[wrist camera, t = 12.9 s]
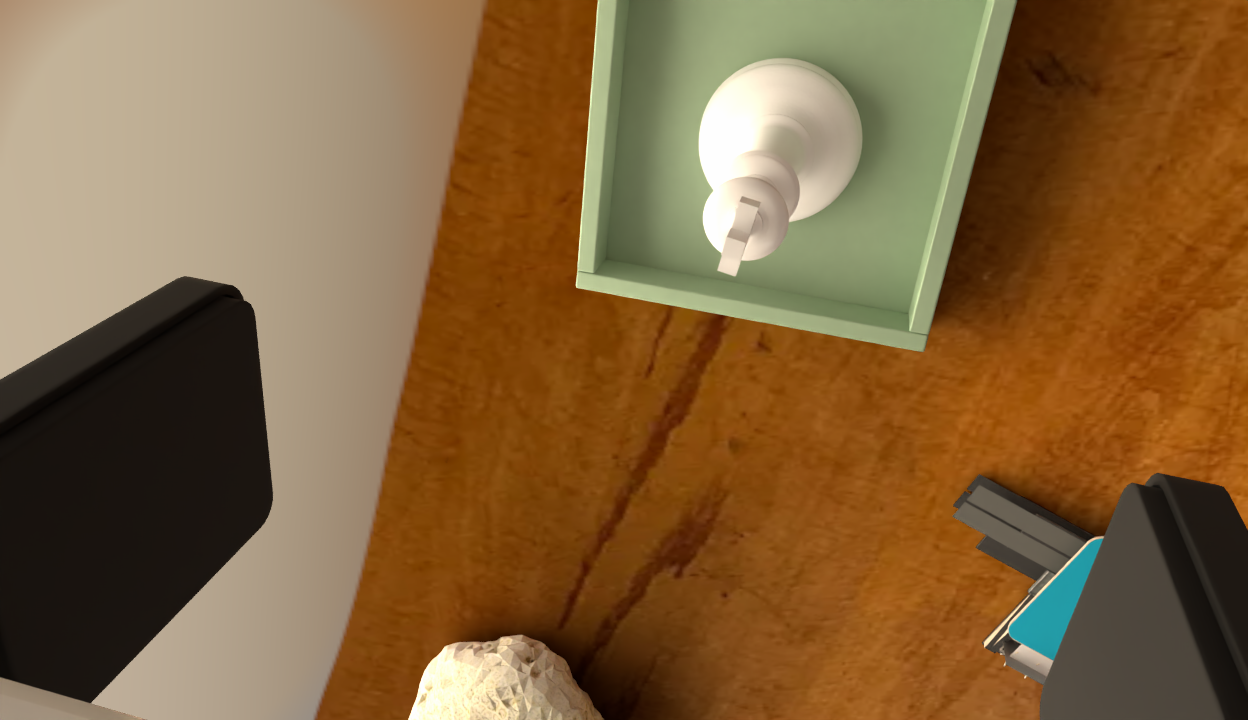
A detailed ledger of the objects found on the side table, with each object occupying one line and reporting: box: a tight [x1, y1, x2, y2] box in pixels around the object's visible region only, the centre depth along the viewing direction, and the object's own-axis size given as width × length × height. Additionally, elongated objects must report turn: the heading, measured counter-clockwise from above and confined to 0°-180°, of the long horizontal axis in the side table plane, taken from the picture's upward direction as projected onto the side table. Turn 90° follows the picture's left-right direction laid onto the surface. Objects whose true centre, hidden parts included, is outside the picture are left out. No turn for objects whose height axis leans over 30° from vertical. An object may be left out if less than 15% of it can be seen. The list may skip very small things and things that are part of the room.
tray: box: [576, 0, 1017, 352], centre depth 29 cm, size 11×11×2 cm
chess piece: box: [699, 58, 863, 276], centre depth 25 cm, size 5×5×10 cm
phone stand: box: [953, 474, 1104, 685], centre depth 33 cm, size 20×12×2 cm, turn 65°
